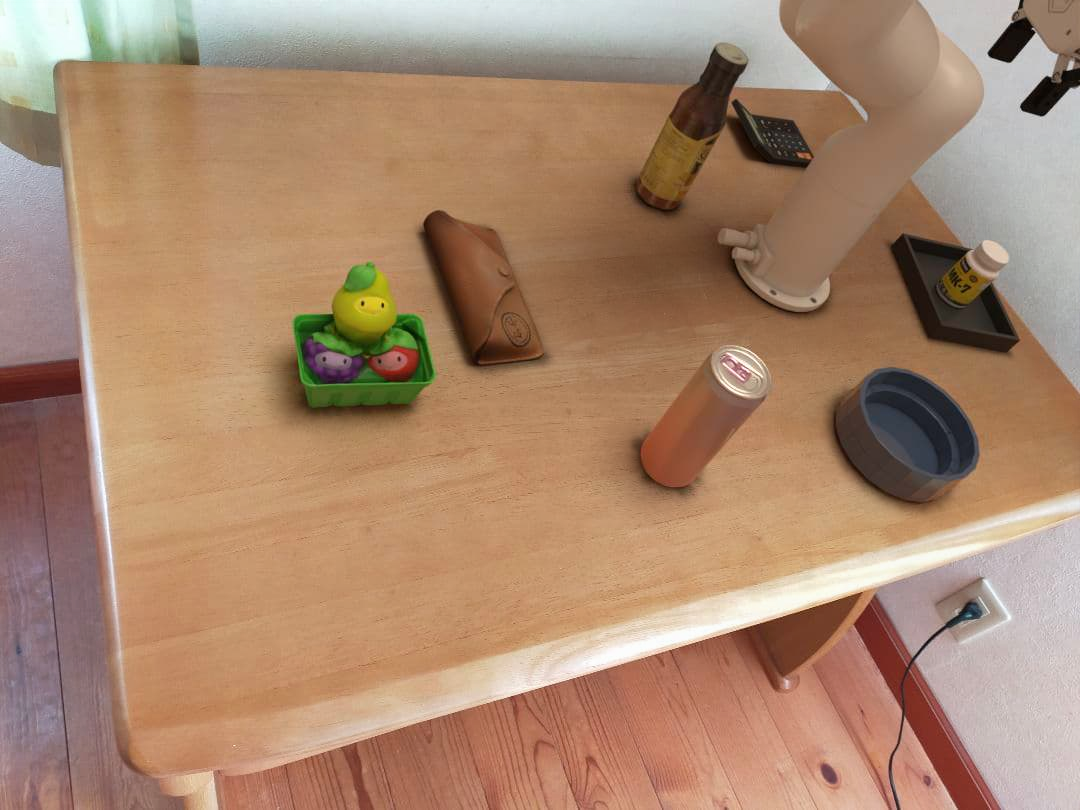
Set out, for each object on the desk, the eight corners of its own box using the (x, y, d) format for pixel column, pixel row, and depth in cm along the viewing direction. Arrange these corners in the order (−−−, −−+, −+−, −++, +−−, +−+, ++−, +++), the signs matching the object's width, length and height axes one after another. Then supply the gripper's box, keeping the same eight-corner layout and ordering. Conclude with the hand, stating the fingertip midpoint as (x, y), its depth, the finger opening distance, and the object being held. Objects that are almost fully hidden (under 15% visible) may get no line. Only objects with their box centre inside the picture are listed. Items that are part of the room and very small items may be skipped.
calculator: (814, 168, 125) (826, 151, 122) (746, 160, 120) (756, 142, 118) (790, 125, 130) (801, 108, 127) (723, 115, 125) (733, 98, 123)
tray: (1006, 352, 113) (1020, 340, 112) (928, 337, 110) (941, 325, 108) (964, 262, 123) (976, 249, 121) (891, 246, 119) (902, 232, 117)
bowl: (853, 496, 90) (882, 471, 86) (819, 385, 98) (845, 358, 94) (965, 510, 94) (998, 487, 90) (924, 402, 102) (952, 377, 98)
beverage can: (658, 427, 87) (730, 331, 76) (705, 467, 86) (785, 376, 75) (626, 459, 83) (696, 364, 72) (674, 502, 82) (753, 412, 71)
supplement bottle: (928, 284, 116) (972, 239, 109) (950, 279, 118) (994, 234, 112) (951, 312, 114) (997, 267, 107) (973, 306, 116) (1019, 262, 110)
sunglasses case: (551, 355, 87) (538, 321, 81) (485, 383, 87) (468, 350, 81) (493, 225, 96) (478, 185, 90) (434, 250, 96) (415, 212, 90)
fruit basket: (295, 421, 74) (310, 338, 66) (284, 339, 79) (296, 251, 70) (425, 416, 79) (455, 337, 70) (408, 338, 84) (434, 255, 75)
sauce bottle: (677, 219, 108) (758, 82, 92) (630, 200, 107) (704, 58, 92) (682, 187, 112) (760, 51, 97) (637, 169, 111) (708, 28, 96)
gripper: (1075, -121, 88) (959, 31, 101) (1156, -30, 78) (1016, 126, 91) (1132, -99, 90) (1011, 48, 103) (1218, -7, 80) (1072, 142, 93)
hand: (1014, 84), depth 97 cm, fingers open, 9 cm apart
